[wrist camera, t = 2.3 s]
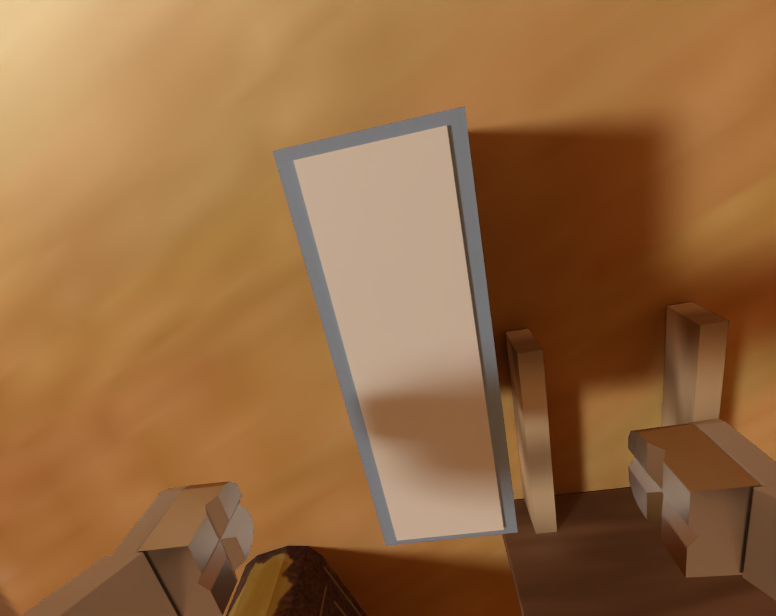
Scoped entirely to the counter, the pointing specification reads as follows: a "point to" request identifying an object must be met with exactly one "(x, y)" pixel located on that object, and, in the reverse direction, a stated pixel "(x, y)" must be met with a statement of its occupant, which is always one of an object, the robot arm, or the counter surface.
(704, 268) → the counter surface
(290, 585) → the book
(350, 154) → the box book
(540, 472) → the wooden display stand
